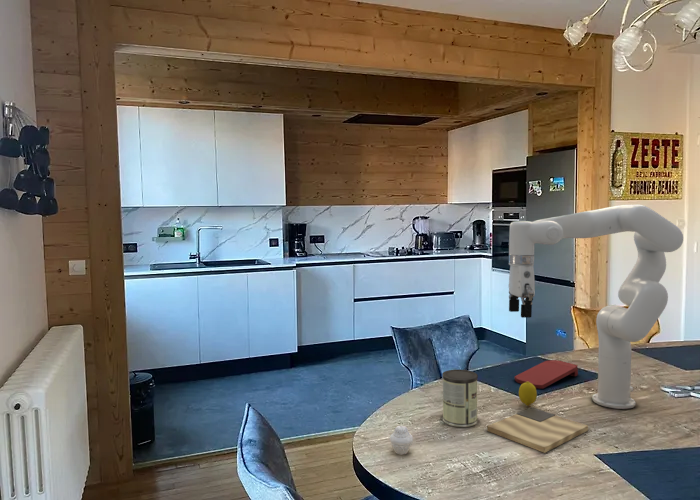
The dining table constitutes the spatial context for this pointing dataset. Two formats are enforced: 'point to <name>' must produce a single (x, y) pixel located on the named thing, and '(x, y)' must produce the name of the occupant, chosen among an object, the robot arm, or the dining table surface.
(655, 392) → the dining table surface
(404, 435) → the white rounded piece
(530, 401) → the lemon
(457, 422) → the coffee can
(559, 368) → the red sloped ramp
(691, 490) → the dining table surface
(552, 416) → the board
